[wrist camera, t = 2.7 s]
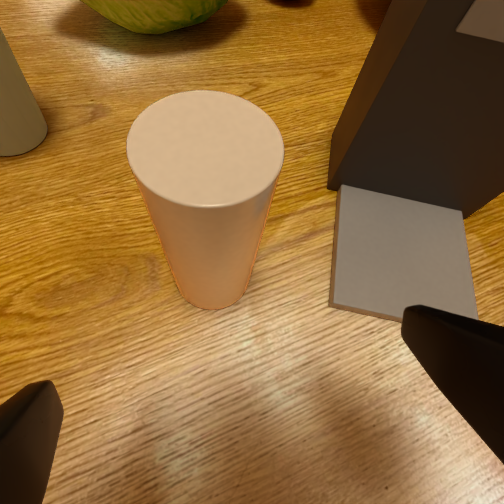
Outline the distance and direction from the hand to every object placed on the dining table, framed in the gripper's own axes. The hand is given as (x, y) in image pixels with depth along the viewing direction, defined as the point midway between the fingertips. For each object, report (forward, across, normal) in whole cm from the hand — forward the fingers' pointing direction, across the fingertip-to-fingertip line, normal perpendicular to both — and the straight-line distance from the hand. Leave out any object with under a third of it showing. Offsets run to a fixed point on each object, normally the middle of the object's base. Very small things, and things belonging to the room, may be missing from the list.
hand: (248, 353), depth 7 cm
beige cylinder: (+14, 0, +4) cm, 15 cm away
